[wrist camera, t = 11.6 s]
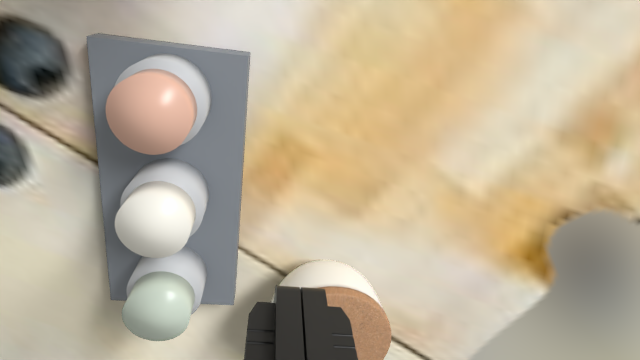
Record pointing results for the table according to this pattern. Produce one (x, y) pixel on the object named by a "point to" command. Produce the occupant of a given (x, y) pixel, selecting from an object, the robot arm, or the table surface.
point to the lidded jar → (348, 303)
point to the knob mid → (156, 219)
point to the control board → (198, 151)
